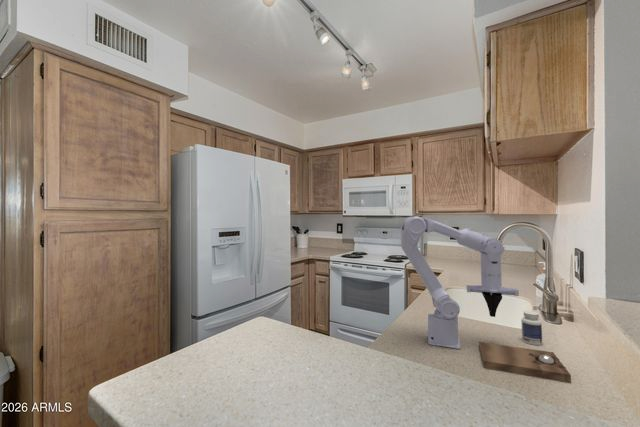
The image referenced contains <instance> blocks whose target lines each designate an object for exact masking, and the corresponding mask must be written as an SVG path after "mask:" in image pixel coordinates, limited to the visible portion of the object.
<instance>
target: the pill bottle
mask: <svg viewBox="0 0 640 427" xmlns="http://www.w3.org/2000/svg"><path fill="white" fill-rule="evenodd" d="M539 317H540V316H539V313H538V312H536V311H533V310H524V311H523V317H522V318H521V337H522V338H521V339H522V341H523V342H524V343H526V344H528V345H533V346H540V345H542V344H543V326H542V321H541V320H540V319H539Z"/></svg>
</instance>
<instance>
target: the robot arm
mask: <svg viewBox="0 0 640 427" xmlns="http://www.w3.org/2000/svg"><path fill="white" fill-rule="evenodd" d="M400 232H401V234H400V247H401V250H402V251H403V252H404V254H405V256H406V257H407V259H408V260H409V262H410V264H411V265H412V267H413V268H414V270H415V272H416V273H417V275H418V277H419V278H420V280H421V281H422V283H423V284H424V286H425V287H426V289H427V290H428V293H429V295H430V297H431V299H432V305H433V306H434V308H435V310H434V313H428V315H427V341H428V345H431V346H432V345H433V346H438V347H445V348H449V349H451V348H452V349H456V350H457V349H461V343H460V338H459V322H458V321H459V318H458V316H459V314H460V312H461V308H460V305H459V303H458V302H457V301H456V300H454V299H453V298H451V297H450V295H449V293H447V291H446V289H445V288H444V287H443V286H442V283H441V282H440V281H439V279H438V278H437V276H436V275H435V273H434V271H433V270H432V268H431V266H430V265H429V263H428V262H427V260H426V259H425V257H424V256H423V254H422V252H421V251H420V249H419V248H418V244H419V241H420V239H421V237H422V236H423V235H424V233H427V234H428V233H438V234H440V235H443V236H445V237H448V238H453V239H455V240H456V242H457V243H458V245H460V246H463V247H465V248H468V249H471V250H474V251H477V252H479V253H480V277H481V279H480V280H481V281H480V283H481V285H472V284H471V285H466V292H467V293H481V295H482V296H483V299H484V300H485V303H486V305H487V308H488V313H489V316H490V317H492V318H493V317H494V318H496V315H497V314H496V313H497V310H498V307H499V305H500V303H501V301H502V300H503V295H506V296H514V297H519V296H520V294H519V293H520V292H519V289H518V288H511V287H505V286H504V287H503V286H502V285H503V284H502V282H503V280H502V255H503V253H504V251H505V246H504V245H503V243H502V241H501V240H499V239H497V238H493V237H489V235H488V234H486V233H482V234H481V233H479V232H476V231H474V229H473V228H470V227H469V228H463V229H457V228H456V227H455V228H454V227H452V226H449V225H447V224H445V223H441V222H439V221H436V220H433V219H431V218H423V217H421V216H416V215H415V216H408V217H406V218H405V219H404V220H403V222H402V225H401V227H400Z"/></svg>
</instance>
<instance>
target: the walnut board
mask: <svg viewBox="0 0 640 427" xmlns="http://www.w3.org/2000/svg"><path fill="white" fill-rule="evenodd" d="M478 349H479V353H480V358H481V361H482V365H483V367H482V368H484V369H488V370H493V371H501V372H505V373H512V374H515V375H516V374H517V375H522V376H528V377H532V378H533V377H535V378H539V379H544V380H545V379H546V380H552V381H557V382H562V383H563V382H564V383H569V384H571V383H572V375H571V373H570V372H569V370H567V368H566V366H564V364H563V363H562V362H561V360H560V359H559V358H558V357H557V356H556V354H555V353H554V351H553V352H552V351H547V350H546V351H545V350H539V349H533V348H526V347H518V346H510V345H504V344H496V343H489V342H484V341H478ZM543 354H545V355H548V356H550V357H551V358H552V359H553V360H554V363H555V364H554V365H550V364H544V363H541V362H539V361H538V358H539V356H540V355H543Z"/></svg>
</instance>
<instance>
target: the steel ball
mask: <svg viewBox="0 0 640 427" xmlns="http://www.w3.org/2000/svg"><path fill="white" fill-rule="evenodd" d="M538 361H539V362H541V363H544V364H550V365H554V364H555V363H554V360H553V359H552V358H551V357H550V356H548V355H545V354H543V355H540V356H539V358H538Z"/></svg>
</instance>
